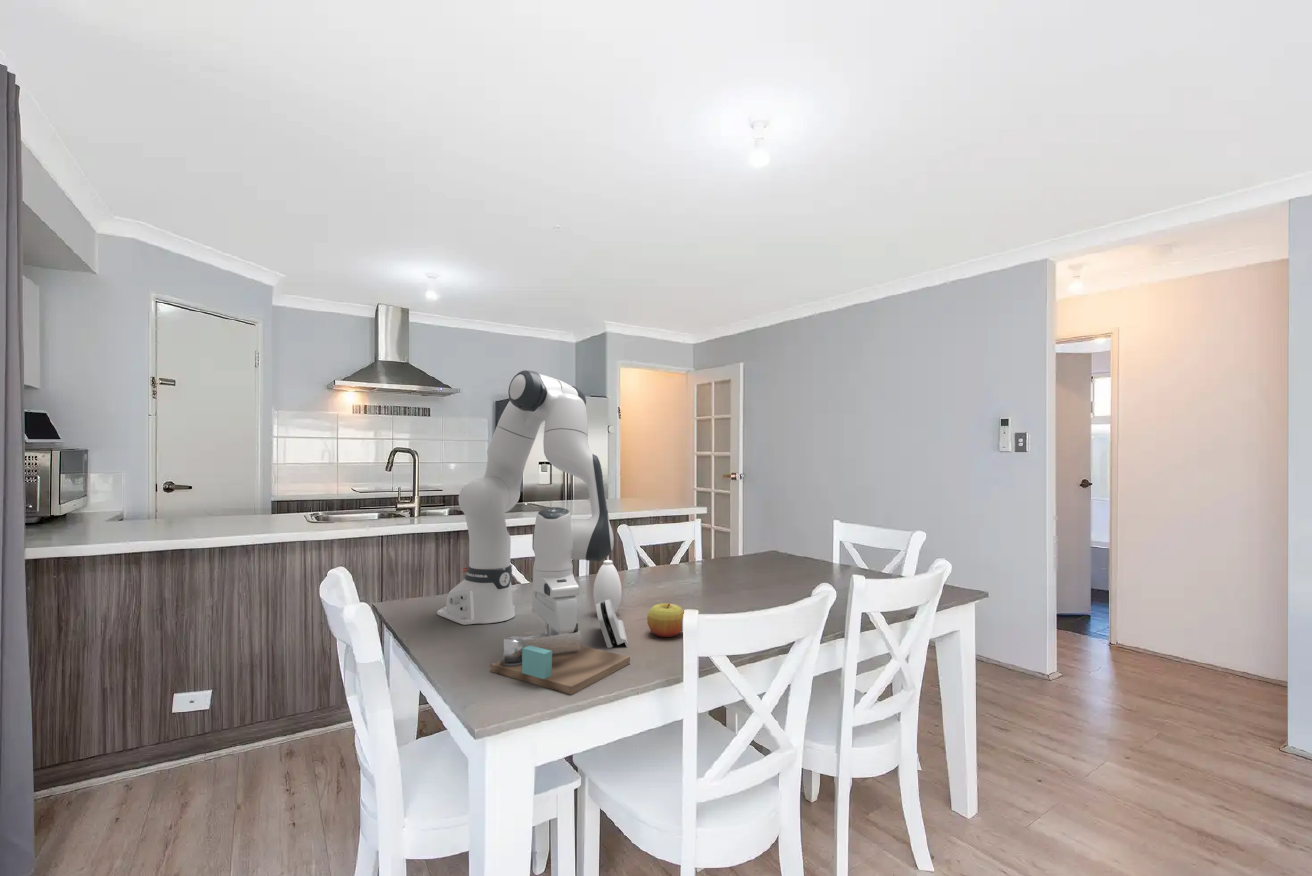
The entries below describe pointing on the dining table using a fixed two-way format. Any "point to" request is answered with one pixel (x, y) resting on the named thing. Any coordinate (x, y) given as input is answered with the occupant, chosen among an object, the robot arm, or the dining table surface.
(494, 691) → the dining table surface
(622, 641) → the white slotted block
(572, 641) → the lock bar
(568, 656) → the wooden cutting board
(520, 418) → the robot arm
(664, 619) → the apple
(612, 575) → the white tall oval piece
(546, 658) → the block
